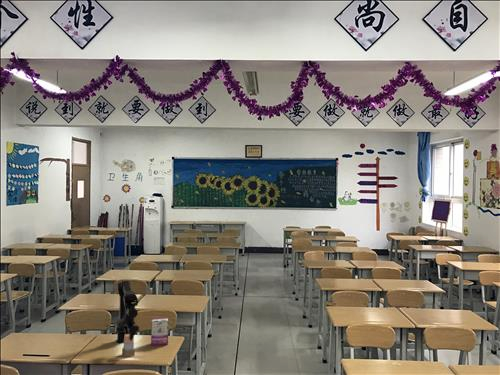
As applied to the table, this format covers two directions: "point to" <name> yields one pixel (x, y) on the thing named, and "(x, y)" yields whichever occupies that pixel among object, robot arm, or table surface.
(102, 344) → the table surface
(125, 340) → the terracotta cube
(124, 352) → the walnut base block
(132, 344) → the slate block
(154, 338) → the candy bar box
